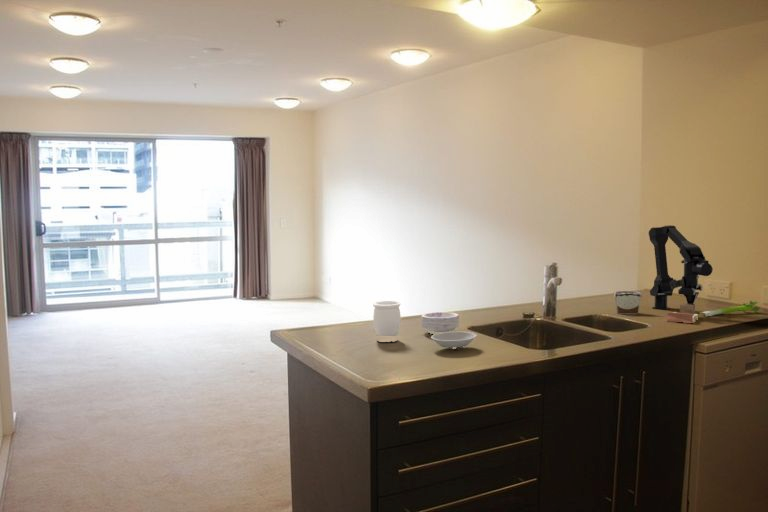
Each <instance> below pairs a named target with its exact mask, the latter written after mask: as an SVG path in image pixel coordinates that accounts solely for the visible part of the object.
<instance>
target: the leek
mask: <svg viewBox="0 0 768 512" xmlns="http://www.w3.org/2000/svg"><path fill="white" fill-rule="evenodd" d="M759 303H761V301H752V300H750V301H749V302H748V303H747V302H745V303H742V305H739V306H732V307H726V308H724V307H723V308H719V309H712V310H706V311H701V312H699V315H704V317H705V318H708V317H707V316H710V317H713V316H718V315H722V314H727V313H734V312H744V313H746V311H747V312H749V311H750V312H751V311H752V312H754V314H757V312H760V309H761V306H759V305H758V304H759ZM757 305H758V306H757Z"/></svg>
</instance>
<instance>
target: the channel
mask: <svg viewBox="0 0 768 512" xmlns="http://www.w3.org/2000/svg"><path fill="white" fill-rule="evenodd" d="M696 320H697V321H698V320H699V314H698V313H695V314H694V315H693V314H685V313H680V312H677V311H673V312H671V311H667V312H666V322H667V321H672V322H671V323H677V322H683V323H682V324H687V323H693V322H694V323H696V322H697V321H696ZM694 323H693V324H694Z"/></svg>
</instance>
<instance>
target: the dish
mask: <svg viewBox="0 0 768 512" xmlns="http://www.w3.org/2000/svg"><path fill="white" fill-rule="evenodd" d="M477 336H478V335H477V334H476V333H473V332H469V331H454V332H444V333H438V334H434V335H431V336H430V338H431V339H432V340H433V341H434V342H435V343H436V344H437V345H438V346H440V347H442V348H445V347H450V348H449V349H451V348H453V347H461V348H464V347H466V346H468V345H469V344H471V343H472V342H473V341H474V339H476V338H477ZM463 346H464V347H463Z"/></svg>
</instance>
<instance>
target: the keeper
mask: <svg viewBox="0 0 768 512" xmlns="http://www.w3.org/2000/svg"><path fill="white" fill-rule="evenodd" d="M679 313H685V314H693V315H694V314H696V303H694V304H688V303H687V302H686V303H685V302H682V303H681V304H680V305H679Z"/></svg>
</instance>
